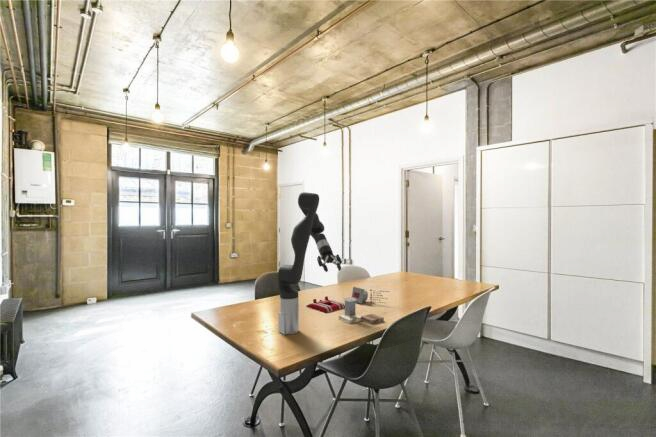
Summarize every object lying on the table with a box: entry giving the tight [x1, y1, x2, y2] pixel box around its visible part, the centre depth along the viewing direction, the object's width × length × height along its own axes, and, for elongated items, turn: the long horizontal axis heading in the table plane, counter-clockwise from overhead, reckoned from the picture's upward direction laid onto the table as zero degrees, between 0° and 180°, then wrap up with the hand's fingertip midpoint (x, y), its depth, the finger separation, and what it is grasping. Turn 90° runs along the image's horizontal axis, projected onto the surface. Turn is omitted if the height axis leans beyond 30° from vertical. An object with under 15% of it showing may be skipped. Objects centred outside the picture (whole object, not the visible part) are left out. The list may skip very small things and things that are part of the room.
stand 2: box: [360, 313, 385, 325], centre depth 178 cm, size 9×9×2 cm
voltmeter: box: [351, 286, 390, 305], centre depth 215 cm, size 27×11×10 cm, turn 69°
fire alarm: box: [305, 296, 345, 314], centre depth 206 cm, size 16×6×20 cm
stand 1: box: [338, 314, 363, 324], centre depth 179 cm, size 9×9×2 cm
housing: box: [343, 296, 357, 318], centre depth 179 cm, size 5×5×10 cm
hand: (333, 270), depth 185 cm, fingers open, 8 cm apart
